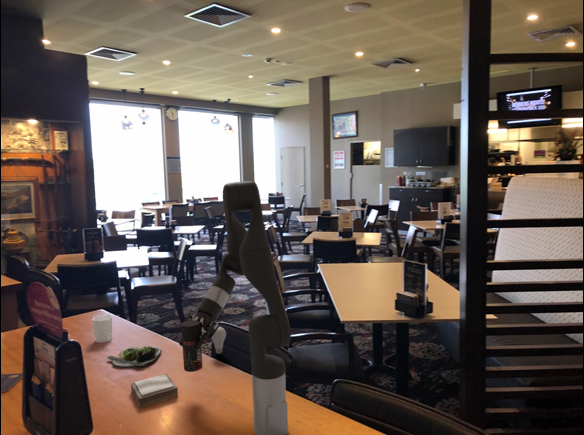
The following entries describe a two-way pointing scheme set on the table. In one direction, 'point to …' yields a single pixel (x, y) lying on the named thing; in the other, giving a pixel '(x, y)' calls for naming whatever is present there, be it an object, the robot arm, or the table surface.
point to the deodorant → (188, 339)
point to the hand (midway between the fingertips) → (187, 347)
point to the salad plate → (136, 357)
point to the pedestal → (154, 390)
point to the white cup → (102, 328)
